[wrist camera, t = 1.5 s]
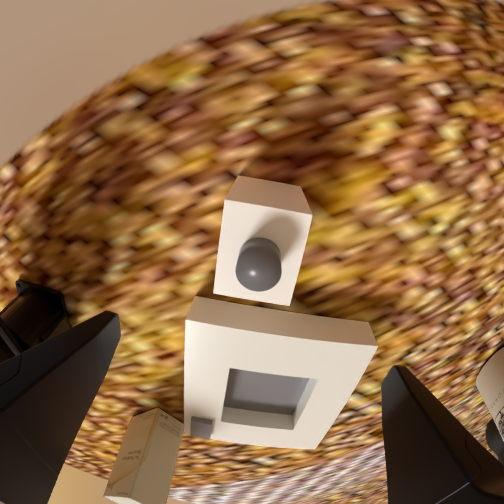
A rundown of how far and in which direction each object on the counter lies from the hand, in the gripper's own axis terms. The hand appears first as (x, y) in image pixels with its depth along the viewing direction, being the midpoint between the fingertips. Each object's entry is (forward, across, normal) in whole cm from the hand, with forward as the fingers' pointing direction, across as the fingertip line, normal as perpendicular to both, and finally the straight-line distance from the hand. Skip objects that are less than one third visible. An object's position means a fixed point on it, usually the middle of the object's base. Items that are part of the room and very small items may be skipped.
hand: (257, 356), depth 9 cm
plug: (+12, +1, 0) cm, 12 cm away
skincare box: (+12, +8, +27) cm, 31 cm away
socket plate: (+12, -3, +15) cm, 20 cm away
